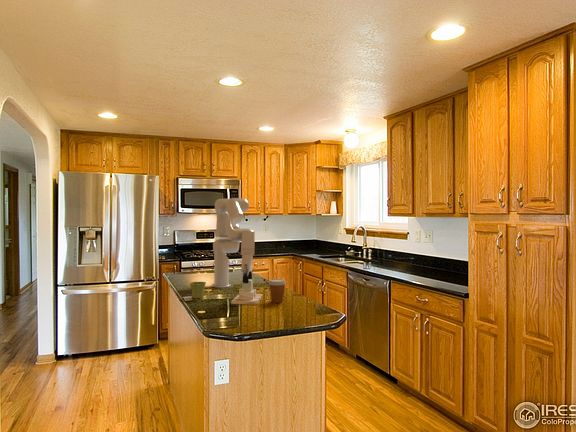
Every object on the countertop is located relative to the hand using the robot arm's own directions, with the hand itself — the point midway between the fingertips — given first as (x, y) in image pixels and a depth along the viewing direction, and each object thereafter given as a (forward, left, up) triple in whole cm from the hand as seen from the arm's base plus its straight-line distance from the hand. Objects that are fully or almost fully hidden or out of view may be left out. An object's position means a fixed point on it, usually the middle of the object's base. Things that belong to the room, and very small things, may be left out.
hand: (247, 281), depth 230 cm
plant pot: (-3, -30, -11) cm, 32 cm away
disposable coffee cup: (+1, +17, -11) cm, 20 cm away
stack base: (0, 0, -11) cm, 11 cm away
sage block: (0, 0, -5) cm, 5 cm away
